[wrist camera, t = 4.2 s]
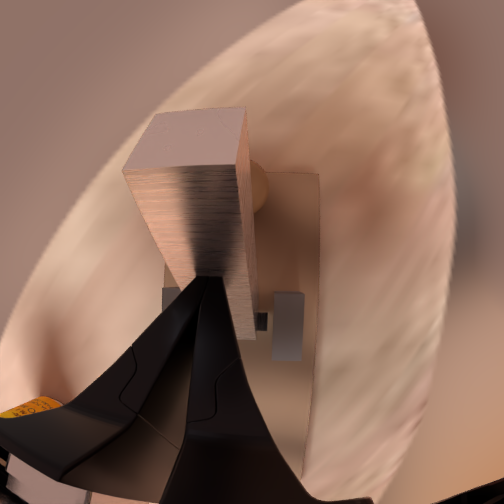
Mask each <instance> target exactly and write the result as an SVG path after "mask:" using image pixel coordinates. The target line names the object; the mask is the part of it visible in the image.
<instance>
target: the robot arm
mask: <svg viewBox="0 0 504 504" xmlns="http://www.w3.org/2000/svg"><path fill="white" fill-rule="evenodd" d="M149 502H151V503H159V504H374V503H373V500H372V498H371V497H362V498H355V499H348V500H339V501H321V500H318V499H316V498H314V497H312V496H311V495H310V494H309V493H308V492H307V491H306V489H305V488H304V487H303V485H302V484H301V482H300V481H299V479H298V478H297V476H296V475H295V473H294V472H293V470H292V469H291V467H290V466H289V464H288V463H287V461H286V460H285V458H284V457H283V455H282V454H281V452H280V450H279V449H278V447H277V445H276V443H275V441H274V439H273V437H272V435H271V433H270V431H269V429H268V427H267V425H266V423H265V420H264V418H263V416H262V414H261V412H260V409H259V407H258V405H257V403H256V400H255V398H254V396H253V393H252V391H251V388H250V385H249V383H248V379H247V376H246V372H245V369H244V365H243V361H242V358H241V353H240V349H239V345H238V341H237V336H236V332H235V328H234V324H233V319H232V315H231V311H230V306H229V302H228V297H227V293H226V288H225V284H224V279H223V278H222V277H210V278H209V277H204V276H196V277H195V278H194V279H193V280H192V281H191V282H190V283H189V284H188V285H187V286H186V287H185V288H184V289H183V290H182V291H181V293H180V294H179V295H178V296H177V297H176V298H175V299H174V300H173V301H172V302H171V303H170V304H169V305H168V306H167V307H166V308H165V309H164V310H163V312H162V313H161V314H160V315H159V316H158V317H157V318H156V319H155V320H154V321H153V322H152V323H151V324H150V325H149V326H148V328H147V329H146V330H145V331H144V332H143V333H142V334H141V335H140V336H139V337H138V338H137V339H136V340H135V342H134V343H133V344H132V346H130V347H129V348H128V349H127V350H126V351H125V352H124V353H123V354H122V355H121V356H120V357H119V358H118V359H117V361H116V362H115V363H114V364H113V365H112V366H110V367H109V368H108V369H107V370H106V371H105V372H104V373H103V374H102V375H101V376H100V377H99V378H97V379H96V380H95V381H94V382H93V383H92V384H91V385H89V386H88V387H87V388H86V389H85V390H84V391H83V392H82V393H80V394H79V395H78V396H77V397H76V398H74V399H73V400H72V401H70V402H69V403H67V404H65V405H63V406H60V407H57V408H53V409H49V410H45V411H41V412H36V413H32V414H28V415H23V416H18V417H13V418H3V417H0V504H149ZM432 504H504V478H501V479H499V480H496V481H493V482H491V483H488V484H485V485H482V486H479V487H476V488H473V489H471V490H468V491H465V492H463V493H460V494H457V495H454V496H452V497H449V498H447V499H444V500H441V501H438V502H435V503H432Z"/></svg>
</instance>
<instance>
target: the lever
mask: <svg viewBox="0 0 504 504" xmlns="http://www.w3.org/2000/svg"><path fill="white" fill-rule="evenodd" d="M122 172H123V175H124V177H125V179H126V181H127V184H128V186H129V188H130V190H131V193H132V195H133V197H134V199H135V201H136V203H137V205H138V208H139V210H140V212H141V214H142V216H143V218H144V220H145V222H146V224H147V226H148V228H149V230H150V232H151V234H152V236H153V238H154V240H155V242H156V244H157V246H158V248H159V250H160V252H161V254H162V256H163V258H164V260H165V262H166V264H167V265H168V267H169V269H170V271H171V273H172V275H173V277H174V278H175V280H176V282H177V284H178V286H179V288H180V289H181V291H182V290H183V289H184V288H185V287H186V286H187V285H188V284H189V283H190V282H191V281H192V280H193V279H194V278H195V277H196V276H204V277H209V278H210V277H222V278H223V279H224V284H225V288H226V293H227V297H228V302H229V306H230V311H231V315H232V319H233V324H234V328H235V332H236V336H237V339H242V340H256V335H257V331H267V326H268V312H258V304H259V290H258V275H257V260H256V245H255V230H254V216H253V201H252V187H251V173H250V159H249V145H248V131H247V117H246V107H231V108H211V109H197V110H186V111H176V112H167V113H159V114H156V115H155V116H154V118H153V119H152V121H151V122H150V124H149V125H148V127H147V129H146V130H145V132H144V133H143V135H142V137H141V138H140V140H139V141H138V143H137V145H136V146H135V148H134V150H133V151H132V153H131V155H130V157H129V158H128V160H127V162H126V164H125V165H124V167H123V169H122Z"/></svg>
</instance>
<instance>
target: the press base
mask: <svg viewBox="0 0 504 504" xmlns="http://www.w3.org/2000/svg"><path fill="white" fill-rule="evenodd" d="M250 173H251V187H252V201H253V216H254V230H255V245H256V260H257V275H258V290H259V304H258V312H268V326H267V331H257V335H256V340H242V339H237V341H238V345H239V349H240V353H241V358H242V361H243V365H244V369H245V372H246V376H247V379H248V383H249V385H250V388H251V391H252V393H253V396H254V398H255V400H256V403H257V405H258V407H259V409H260V412H261V414H262V416H263V418H264V420H265V423H266V425H267V427H268V429H269V431H270V433H271V435H272V437H273V439H274V441H275V443H276V445H277V447H278V449H279V450H280V452H281V454H282V455H283V457H284V458H285V460H286V461H287V463H288V464H289V466H290V467H291V469H292V470H293V472H294V473H295V475H296V476H297V478H298V479H299V481H300V480H301V474H302V467H303V461H304V454H305V447H306V439H307V432H308V424H309V415H310V406H311V397H312V386H313V375H314V363H315V350H316V335H317V317H318V295H319V257H320V204H319V174H307V173H276V172H264V170H263V169H262V168H261V167H260V166H259V165H258V164H257V163H255V162H253V161H251V160H250ZM180 293H181V289H180V288H179V286H178V284H177V282H176V280H175V278H174V277H173V275H172V273H171V271H170V269H169V267H168V265H167V264H166V262H165V274H164V288H162V312H163V310H164V309H165V308H166V307H167V306H168V305H169V304H170V303H171V302H172V301H173V300H174V299H175V298H176V297H177V296H178V295H179V294H180Z"/></svg>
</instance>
